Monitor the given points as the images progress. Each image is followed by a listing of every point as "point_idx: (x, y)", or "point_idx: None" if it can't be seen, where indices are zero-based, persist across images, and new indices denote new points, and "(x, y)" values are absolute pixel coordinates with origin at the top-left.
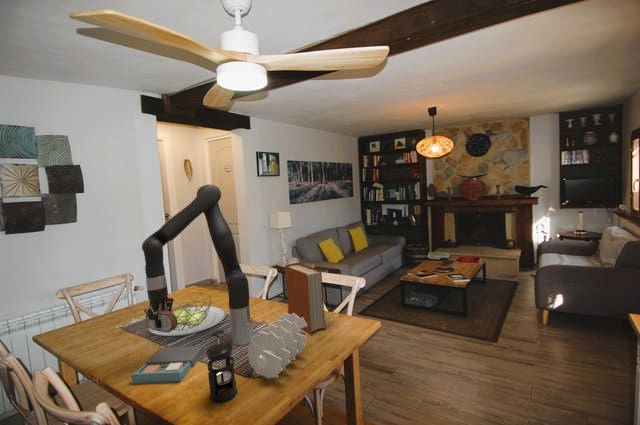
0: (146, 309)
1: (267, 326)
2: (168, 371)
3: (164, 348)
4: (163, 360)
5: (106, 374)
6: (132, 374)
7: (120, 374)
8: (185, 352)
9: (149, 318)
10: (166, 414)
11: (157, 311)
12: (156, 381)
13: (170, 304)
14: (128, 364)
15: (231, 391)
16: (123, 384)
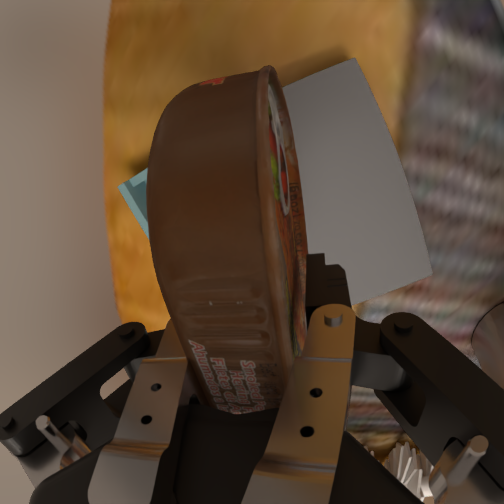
0: (14, 455)
1: (421, 498)
2: None
3: (359, 91)
4: None
5: (128, 9)
6: (121, 191)
7: (150, 57)
8: (362, 242)
9: (102, 344)
10: None
11: (234, 372)
12: None
13: (430, 460)
14: (214, 3)
15: None
16: (121, 144)
